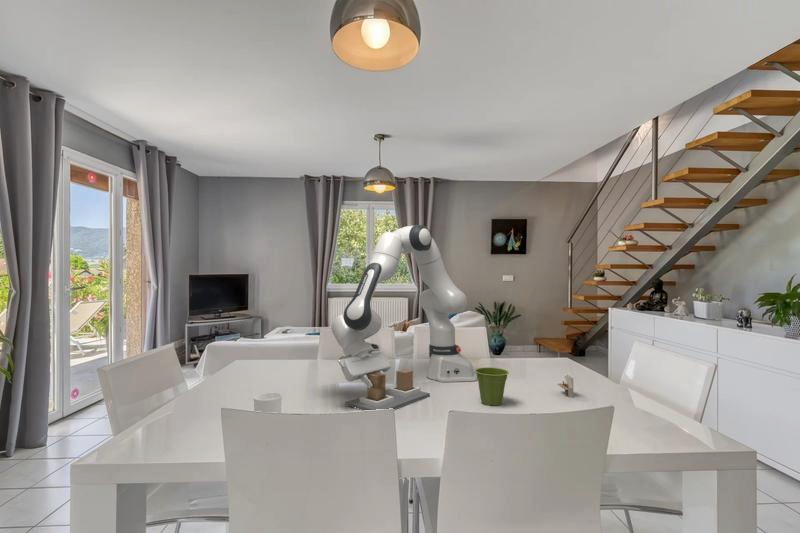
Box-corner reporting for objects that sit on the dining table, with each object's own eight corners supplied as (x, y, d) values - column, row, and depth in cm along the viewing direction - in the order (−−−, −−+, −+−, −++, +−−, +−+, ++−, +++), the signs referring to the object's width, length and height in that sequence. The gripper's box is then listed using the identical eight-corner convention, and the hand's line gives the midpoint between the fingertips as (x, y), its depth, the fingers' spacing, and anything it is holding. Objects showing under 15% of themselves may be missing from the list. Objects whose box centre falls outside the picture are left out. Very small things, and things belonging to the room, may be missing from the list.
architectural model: (564, 398, 153) (564, 378, 153) (557, 393, 160) (557, 373, 160) (573, 398, 153) (573, 378, 154) (566, 393, 160) (565, 373, 160)
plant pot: (502, 410, 140) (502, 376, 140) (469, 404, 146) (469, 372, 146) (513, 401, 150) (513, 369, 150) (482, 396, 156) (481, 365, 156)
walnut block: (376, 394, 149) (376, 372, 149) (385, 397, 146) (385, 374, 146) (367, 397, 145) (367, 374, 146) (376, 400, 143) (376, 376, 143)
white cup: (273, 436, 119) (273, 400, 119) (248, 434, 120) (248, 399, 120) (286, 426, 126) (286, 392, 127) (262, 424, 128) (262, 391, 128)
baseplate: (397, 388, 166) (397, 365, 166) (429, 396, 156) (429, 371, 156) (346, 405, 146) (346, 378, 146) (379, 415, 135) (379, 387, 135)
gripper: (340, 352, 143) (360, 385, 136) (382, 344, 158) (401, 374, 152) (332, 363, 146) (351, 397, 139) (373, 354, 161) (392, 384, 154)
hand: (377, 385), depth 145 cm, fingers closed on walnut block, 4 cm apart
